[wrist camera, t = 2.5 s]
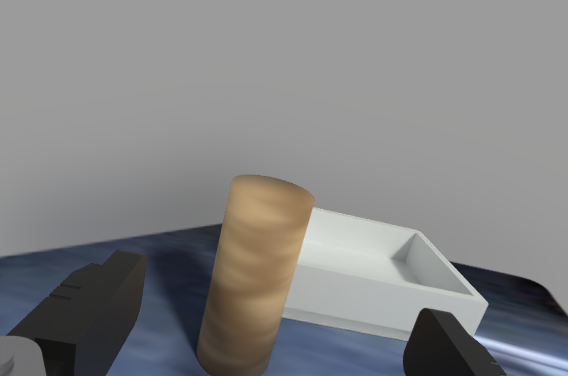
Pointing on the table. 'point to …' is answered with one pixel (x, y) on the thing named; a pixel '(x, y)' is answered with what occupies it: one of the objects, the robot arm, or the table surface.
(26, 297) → the table surface
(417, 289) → the tote
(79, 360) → the robot arm
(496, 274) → the table surface
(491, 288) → the table surface
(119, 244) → the table surface
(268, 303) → the wooden cylinder
